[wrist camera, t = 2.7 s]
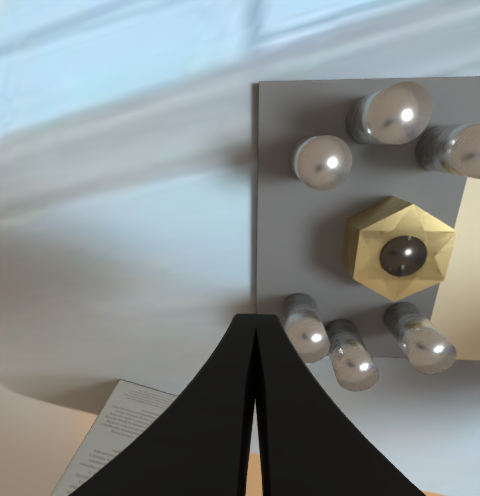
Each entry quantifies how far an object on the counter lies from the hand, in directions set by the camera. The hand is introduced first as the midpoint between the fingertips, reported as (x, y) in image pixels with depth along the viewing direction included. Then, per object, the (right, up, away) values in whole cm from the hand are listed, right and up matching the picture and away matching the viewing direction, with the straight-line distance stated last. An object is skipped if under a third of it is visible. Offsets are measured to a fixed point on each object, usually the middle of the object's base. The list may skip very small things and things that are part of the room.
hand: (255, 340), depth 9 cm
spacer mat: (+10, +4, +9) cm, 14 cm away
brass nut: (+9, +3, +9) cm, 13 cm away
